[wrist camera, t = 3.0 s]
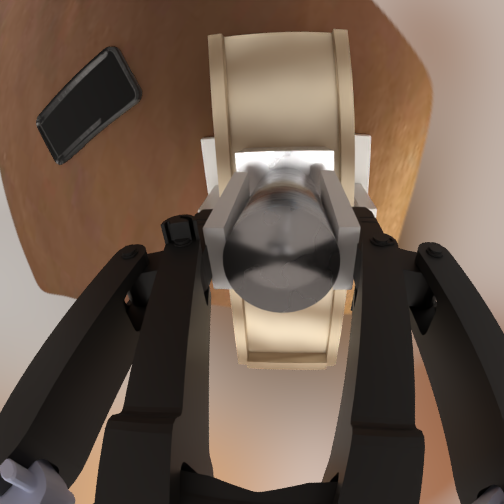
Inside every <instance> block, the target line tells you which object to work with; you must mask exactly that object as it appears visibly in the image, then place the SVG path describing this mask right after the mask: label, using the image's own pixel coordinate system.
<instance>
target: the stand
mask: <svg viewBox="0 0 504 504" xmlns="http://www.w3.org/2000/svg"><path fill="white" fill-rule="evenodd" d="M201 146H202V153H203V161H204V168H205V175H206V182H207V189H208V196H207V198H206V199H205V201H204V202H203V204H202V205H201V207H200V208H199V210H198V212H200V211H201V210H203V209H214V207H215V205H216V203H217V202H218V200H219V198H220V196H219V185H218V174H217V163H216V151H215V138H214V137H206V138H202V139H201ZM370 151H371V136H370V135H368V134H355V185H354V207H366V208H367V209H369V210H370V211H372V213H373V214H374V216H375V218H376V213H377V208H376V207H375V205H374V203H373V202H372V200H371V199H370V197H369V195H368V184H369V170H370Z"/></svg>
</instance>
